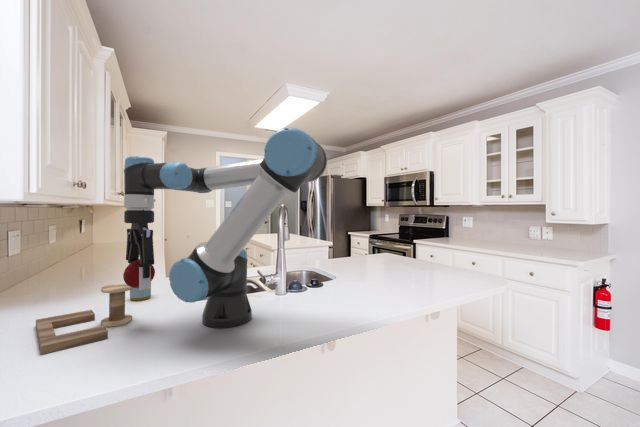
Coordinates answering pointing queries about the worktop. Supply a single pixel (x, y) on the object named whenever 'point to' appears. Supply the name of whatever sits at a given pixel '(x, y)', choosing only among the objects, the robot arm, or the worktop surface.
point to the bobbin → (116, 305)
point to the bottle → (139, 294)
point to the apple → (134, 274)
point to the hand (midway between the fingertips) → (139, 286)
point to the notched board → (68, 340)
